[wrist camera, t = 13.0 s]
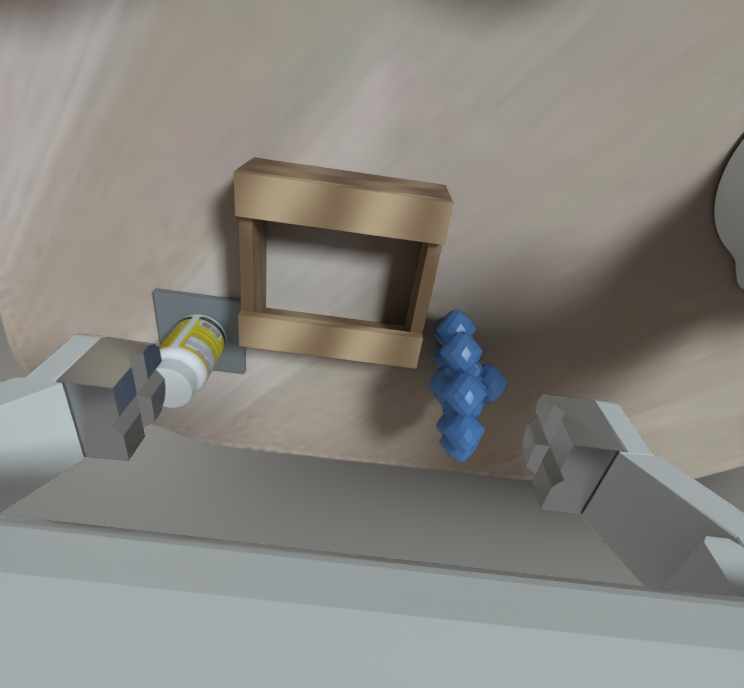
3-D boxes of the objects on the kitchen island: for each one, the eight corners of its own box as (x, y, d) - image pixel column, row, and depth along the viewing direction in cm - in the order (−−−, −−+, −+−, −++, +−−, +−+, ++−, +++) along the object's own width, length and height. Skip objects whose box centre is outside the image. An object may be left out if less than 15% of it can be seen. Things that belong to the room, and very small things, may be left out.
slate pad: (244, 300, 41) (242, 303, 41) (245, 370, 45) (244, 373, 45) (156, 288, 41) (153, 291, 40) (165, 360, 45) (163, 363, 45)
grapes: (489, 393, 46) (517, 487, 36) (422, 395, 46) (432, 488, 36) (500, 290, 40) (538, 368, 30) (424, 292, 40) (435, 370, 30)
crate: (445, 185, 35) (453, 203, 31) (413, 336, 43) (416, 368, 38) (253, 157, 35) (233, 171, 30) (255, 315, 42) (239, 346, 38)
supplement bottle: (180, 352, 44) (140, 409, 37) (174, 310, 41) (129, 361, 34) (229, 357, 44) (199, 414, 37) (226, 315, 41) (192, 367, 34)
